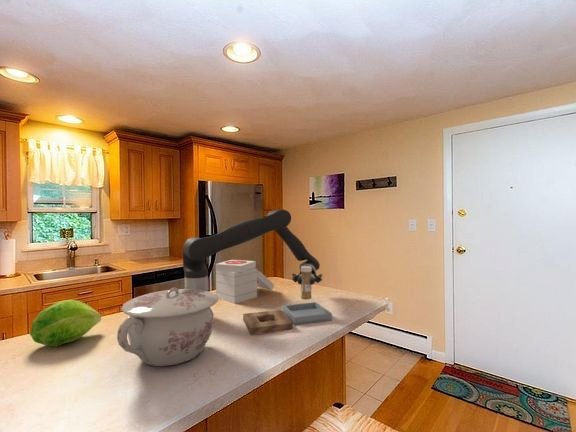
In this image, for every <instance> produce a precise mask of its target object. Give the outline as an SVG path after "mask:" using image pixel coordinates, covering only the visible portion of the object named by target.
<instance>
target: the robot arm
mask: <svg viewBox="0 0 576 432" xmlns="http://www.w3.org/2000/svg"><path fill="white" fill-rule="evenodd" d="M291 221H292V215H291V213H290V212H289V211H288V210H286V209H284V208H279V209H272V210H269V212H268V213H267V215H266V216H262V217H258V218H253V219H248V220H244V221H241V222H237V223H234V224H232V225H230V226H228V227H226V228H225V229H223V230H222V231H220V232H219V233H216V234H213V235H210V236H206V237H197V236H196V237H195V236H194V237H193V236H192V237H189V238H187V240H185V242H184V243H183V246H182V261H183V262H182V268H183V271H184V272H183V273H184V289H195V290H203V291H207V292H209V278H208V277H209V275H208V274H209V272H208V271H209V270H208V267H207V265H206V259H208V258H209V257H212V256H213V255H215V254H218V253H219V252H222V251H224V250H227V249H230V248H233V247H235V246H239V245H242V244H244V243H246V242H249V241H252V240H254V239H257V238H258V237H261V236H262V235H266V234H267V233H270V232H273V231H274V232H275V233H276V234H277V235H278V236H279V237H280V238H281V239H282V241H283V242H284V243H285V244H286V246H287V247H288V249H289V250H290V251H291V253H292V254H293V256H294V257H295V259H296V260H297V261H298V262H301V263H300V264H299V267H298V268H299V273H298V274H295V273H292V274H291V280H292V281H293V282H294V283H297V284H298V285H301V267H302V266H310V267H312V271H311V286H312V285H314V284H315V283H318V284H319V283H320V282H322V281H323V274H322V273H321V274H317V271H318V270H319V269H320V266H321V265H320V261H318V259H317V258H316V257H315V256H313V255H312V254H311V253H310V252H309V251H308V250H307V248H306V246H305V245H304V244H303V242H302V241H301V240H300V239H299V237H297V236H296V235H295V234H294V233H293V232H292V231H291V230H290V229H289V228H288V226H289V225H290V223H291ZM302 261H304V262H302Z"/></svg>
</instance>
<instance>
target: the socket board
mask: <svg viewBox="0 0 576 432" xmlns="http://www.w3.org/2000/svg"><path fill="white" fill-rule="evenodd" d="M242 315H243V316H242V320H243V322H244V324H245V327H246V328H247V330H248V332H249V334H250V336H255V335H262V334H270V333H278V332H279V333H280V332H286V331H293V330H294V324H293V322H292V321H291V320H290V319H289V318H288V317H287V316H286V315H285V314H284V313H283V312H282V309H275V310H274V309H273V310H266V311H257V312H256V311H255V312H249V313H248V312H247V313H246V312H245V313H242Z"/></svg>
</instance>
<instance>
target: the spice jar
mask: <svg viewBox="0 0 576 432" xmlns="http://www.w3.org/2000/svg"><path fill="white" fill-rule="evenodd" d="M311 271H312V267H310V266H302V267H301V284H300V291H301V294H300V295H301V296H300V298H301V300H305V301H307V300H311V299H312V285H311Z"/></svg>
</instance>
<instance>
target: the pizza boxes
mask: <svg viewBox="0 0 576 432" xmlns="http://www.w3.org/2000/svg"><path fill="white" fill-rule="evenodd" d="M256 266H257V263H256V260H245V259H242V260H241V259H230V260H226V261H221V262H219V263H218V262H217V263H215V295H216V296H217V297H218V300H222V301H225V302H228V303H231V304H234V305H235V304H238V303H242V302H245V301H249V300H251V299H255V298H258V288H262V289H265V290H270V291H273V290H274V287H275V284H274V283H273V282H272V281H271V280H270V279H269V278H268V277H266V276H265V274H263V273H262V272H261V271H260V270H258V268H257V267H256Z"/></svg>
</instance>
